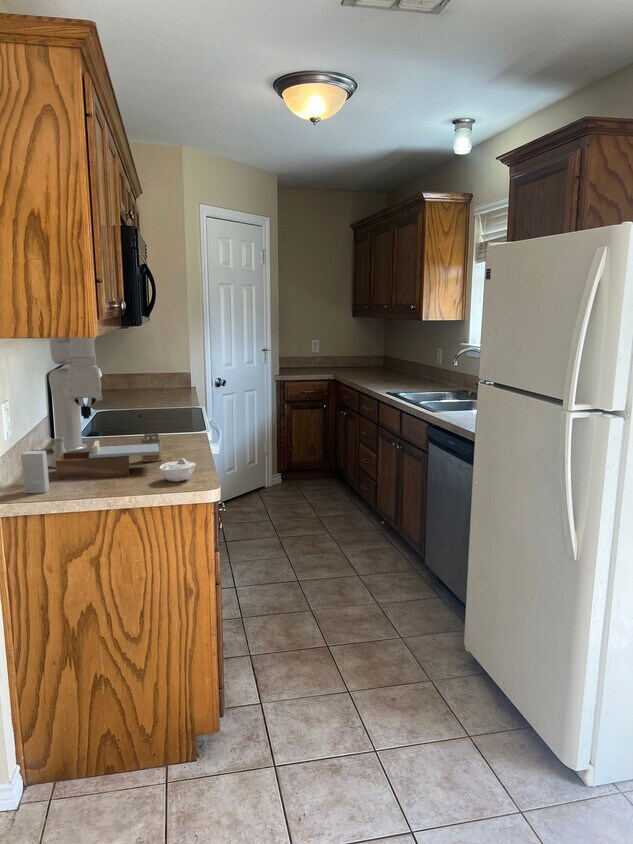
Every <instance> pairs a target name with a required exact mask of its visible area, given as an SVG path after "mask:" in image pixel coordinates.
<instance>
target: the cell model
mask: <svg viewBox="0 0 633 844" xmlns="http://www.w3.org/2000/svg"><path fill="white" fill-rule="evenodd" d="M195 467H196V463H195V462H192V461H187V460H186V459H185V458H183V457H181V458H179V459H178V461H168V462H165V463H163V464H161V465H160V466H158V470H159V474H160V476H161V477H162V478H164V479H165V480H167V481H169V482H181V481H186V480H188V479H189V478H190V477H191V476H192V474H193V473H194V471H195Z"/></svg>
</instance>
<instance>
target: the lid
mask: <svg viewBox="0 0 633 844" xmlns="http://www.w3.org/2000/svg"><path fill="white" fill-rule="evenodd" d="M89 451H90V453H89V458H101V457H119V456H129V457H130V456H131V457H132V456H134V457H135V456H142V455H153V454H159V446H158V444H142V445H141V444H128V445H108V446H106V445H105V446H100V440H95V441H94V443H93V446H92V447H91V448H90V450H89Z"/></svg>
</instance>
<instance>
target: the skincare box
mask: <svg viewBox="0 0 633 844" xmlns="http://www.w3.org/2000/svg"><path fill="white" fill-rule="evenodd" d="M20 459H21V467H22V479H23V489H24V490H23V491H24V492H23V493H24V494H25V493H31V494H44V493H47V492H48V491H49V490H50V481H49V470H48V458H47V450H30V451H27V450H26V451H24V452H23V453H21V454H20Z"/></svg>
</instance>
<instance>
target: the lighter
mask: <svg viewBox="0 0 633 844" xmlns="http://www.w3.org/2000/svg"><path fill="white" fill-rule="evenodd" d="M140 441H141V442H140V445H142V444H158V446H159V454H153V455H141V462H143V463H144V462H145V463H146V462H147V463H151V461H152V462H159V461H160V460H161V461H162V460H163V454H162V451H163V450H162V438H161V437H159V433H158V432H156V433H144V437H143V438H142V439H140ZM161 461H160V462H161Z"/></svg>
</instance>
